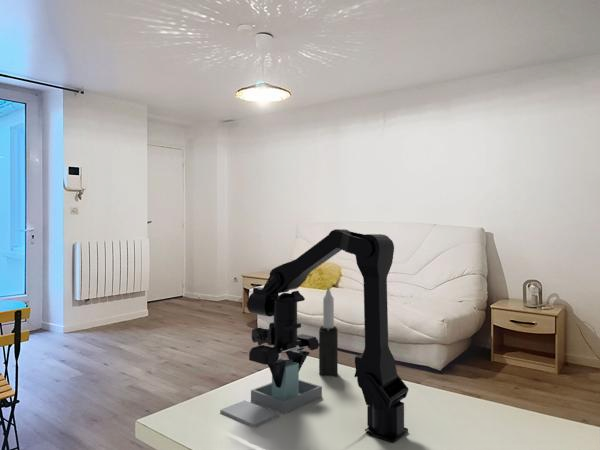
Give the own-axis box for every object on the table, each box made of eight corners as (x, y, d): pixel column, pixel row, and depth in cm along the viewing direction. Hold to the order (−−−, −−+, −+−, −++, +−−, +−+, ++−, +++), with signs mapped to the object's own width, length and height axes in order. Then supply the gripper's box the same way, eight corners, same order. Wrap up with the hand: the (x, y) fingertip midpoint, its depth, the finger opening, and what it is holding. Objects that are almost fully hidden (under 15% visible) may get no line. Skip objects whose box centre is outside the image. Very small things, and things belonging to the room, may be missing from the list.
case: (321, 398, 103) (321, 386, 103) (284, 416, 93) (284, 402, 93) (285, 387, 111) (285, 375, 111) (248, 401, 101) (248, 389, 101)
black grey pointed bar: (337, 372, 122) (337, 285, 123) (337, 378, 117) (337, 287, 118) (319, 371, 123) (319, 285, 123) (318, 377, 118) (318, 287, 118)
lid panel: (278, 419, 91) (278, 413, 91) (254, 430, 86) (254, 424, 86) (244, 405, 99) (244, 400, 99) (220, 415, 93) (220, 409, 93)
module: (298, 396, 102) (298, 359, 102) (285, 402, 99) (285, 364, 99) (284, 392, 105) (284, 356, 105) (271, 397, 101) (272, 360, 102)
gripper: (287, 309, 114) (287, 368, 114) (233, 320, 100) (233, 387, 100) (319, 315, 107) (319, 377, 107) (266, 327, 93) (266, 399, 93)
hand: (285, 384), depth 102 cm, fingers closed on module, 4 cm apart
